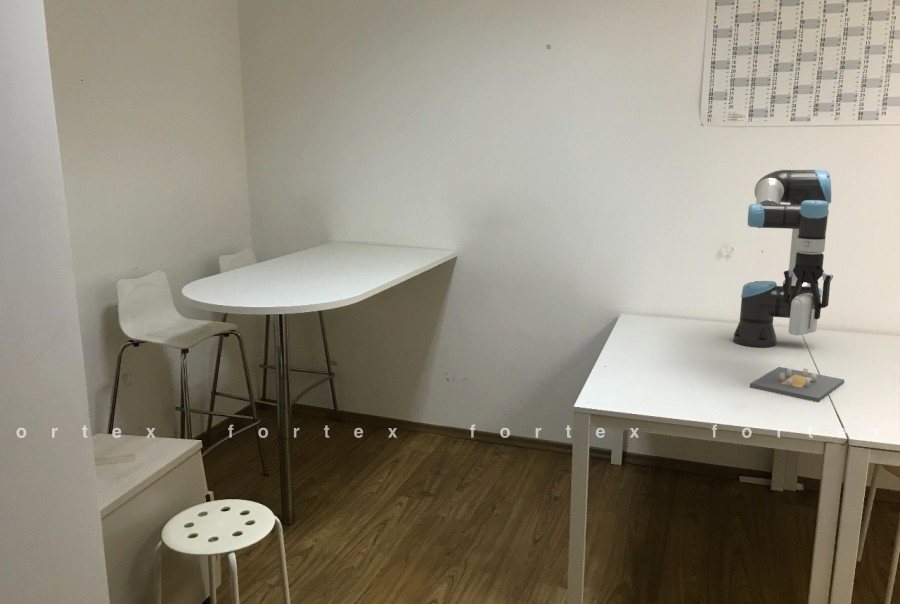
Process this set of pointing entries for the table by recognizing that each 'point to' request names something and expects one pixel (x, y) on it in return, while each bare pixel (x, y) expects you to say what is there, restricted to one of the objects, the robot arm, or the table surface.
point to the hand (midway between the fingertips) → (802, 327)
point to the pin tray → (797, 383)
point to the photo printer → (801, 314)
